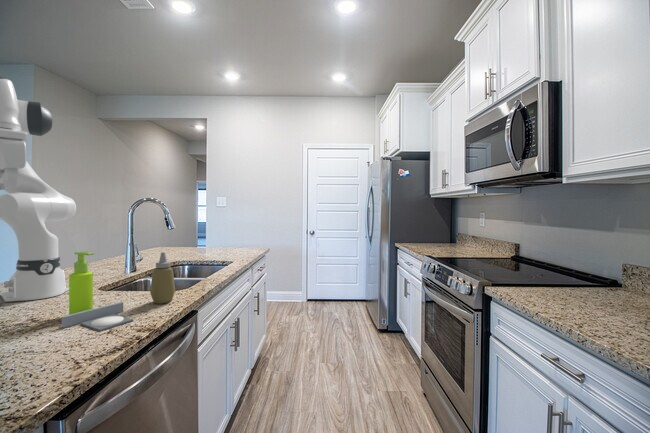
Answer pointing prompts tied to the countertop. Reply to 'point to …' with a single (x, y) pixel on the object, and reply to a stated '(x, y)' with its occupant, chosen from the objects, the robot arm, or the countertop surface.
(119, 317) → the mat
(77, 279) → the soap dispenser
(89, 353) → the countertop surface
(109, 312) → the acrylic wall
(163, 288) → the squeeze bottle
